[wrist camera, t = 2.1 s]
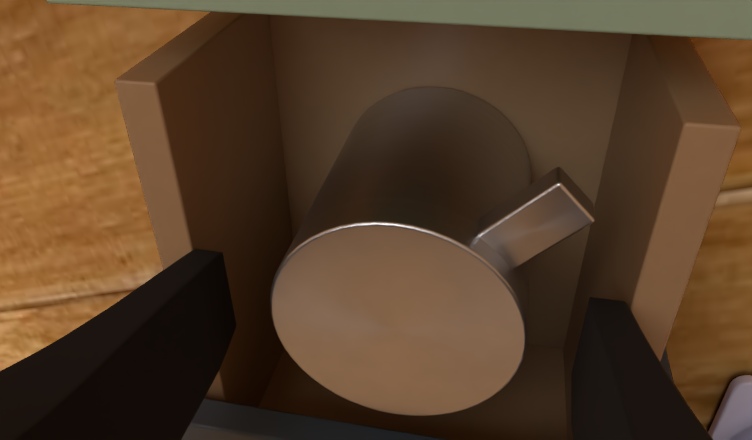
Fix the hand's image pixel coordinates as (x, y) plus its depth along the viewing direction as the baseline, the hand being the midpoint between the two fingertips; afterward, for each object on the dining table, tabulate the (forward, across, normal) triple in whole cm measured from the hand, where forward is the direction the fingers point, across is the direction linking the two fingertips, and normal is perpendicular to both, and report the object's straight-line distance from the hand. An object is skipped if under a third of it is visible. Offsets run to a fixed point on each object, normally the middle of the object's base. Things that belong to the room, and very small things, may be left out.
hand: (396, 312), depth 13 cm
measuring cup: (+6, 0, 0) cm, 6 cm away
